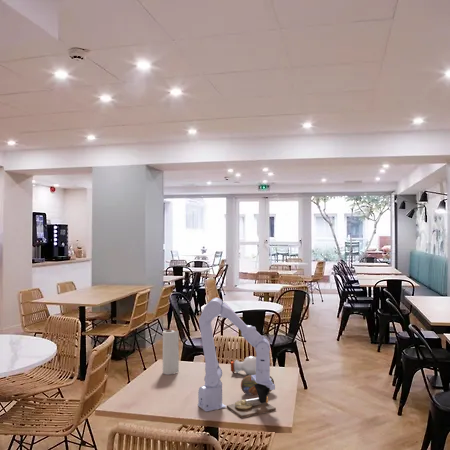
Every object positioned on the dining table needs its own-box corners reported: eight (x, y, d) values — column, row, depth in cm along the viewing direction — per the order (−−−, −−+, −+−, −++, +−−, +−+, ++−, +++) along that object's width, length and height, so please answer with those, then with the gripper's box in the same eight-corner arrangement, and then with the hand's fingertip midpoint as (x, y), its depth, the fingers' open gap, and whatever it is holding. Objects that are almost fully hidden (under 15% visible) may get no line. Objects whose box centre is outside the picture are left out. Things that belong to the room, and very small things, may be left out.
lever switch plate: (241, 418, 181) (241, 415, 181) (226, 407, 192) (226, 405, 192) (275, 410, 189) (275, 407, 189) (259, 400, 200) (259, 398, 200)
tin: (242, 396, 205) (242, 377, 205) (240, 394, 208) (240, 375, 208) (274, 393, 209) (274, 374, 209) (271, 390, 212) (271, 372, 212)
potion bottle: (262, 379, 232) (233, 380, 236) (263, 363, 240) (235, 364, 244) (258, 367, 227) (228, 368, 231) (260, 351, 235) (231, 352, 239)
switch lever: (239, 411, 185) (239, 405, 185) (231, 405, 192) (231, 399, 192) (271, 405, 191) (271, 399, 191) (263, 399, 198) (263, 394, 198)
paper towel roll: (160, 374, 236) (160, 331, 236) (165, 370, 242) (165, 329, 242) (173, 375, 234) (173, 332, 234) (178, 372, 239) (178, 330, 240)
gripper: (281, 372, 187) (281, 406, 187) (261, 363, 200) (261, 395, 199) (266, 375, 183) (266, 409, 183) (246, 365, 196) (247, 398, 196)
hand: (262, 402), depth 191 cm, fingers closed
